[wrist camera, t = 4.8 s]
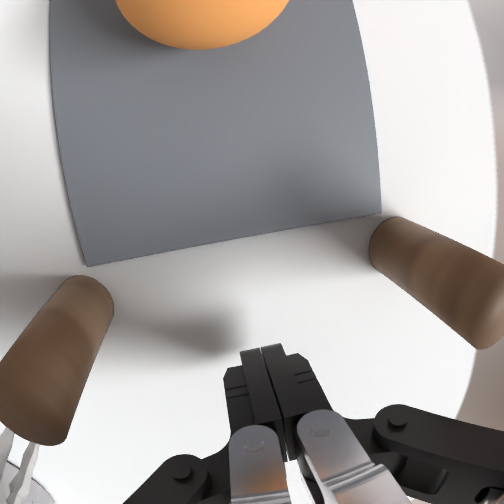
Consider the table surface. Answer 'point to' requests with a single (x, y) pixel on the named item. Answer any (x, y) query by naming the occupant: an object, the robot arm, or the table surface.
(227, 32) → the ball
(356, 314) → the table surface
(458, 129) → the table surface
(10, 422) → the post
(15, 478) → the human figurine
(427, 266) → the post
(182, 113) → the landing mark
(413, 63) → the table surface
